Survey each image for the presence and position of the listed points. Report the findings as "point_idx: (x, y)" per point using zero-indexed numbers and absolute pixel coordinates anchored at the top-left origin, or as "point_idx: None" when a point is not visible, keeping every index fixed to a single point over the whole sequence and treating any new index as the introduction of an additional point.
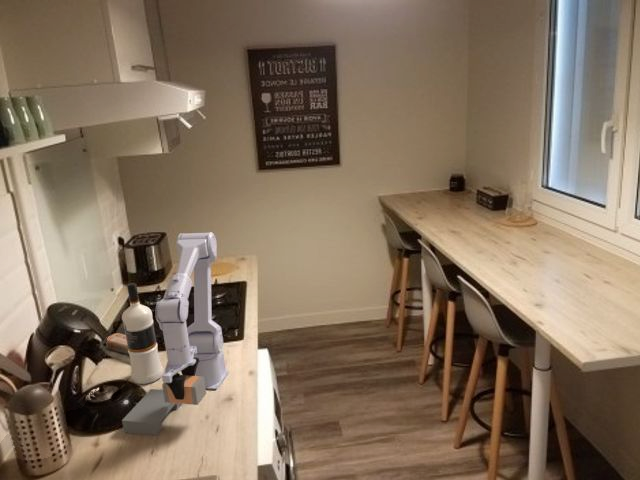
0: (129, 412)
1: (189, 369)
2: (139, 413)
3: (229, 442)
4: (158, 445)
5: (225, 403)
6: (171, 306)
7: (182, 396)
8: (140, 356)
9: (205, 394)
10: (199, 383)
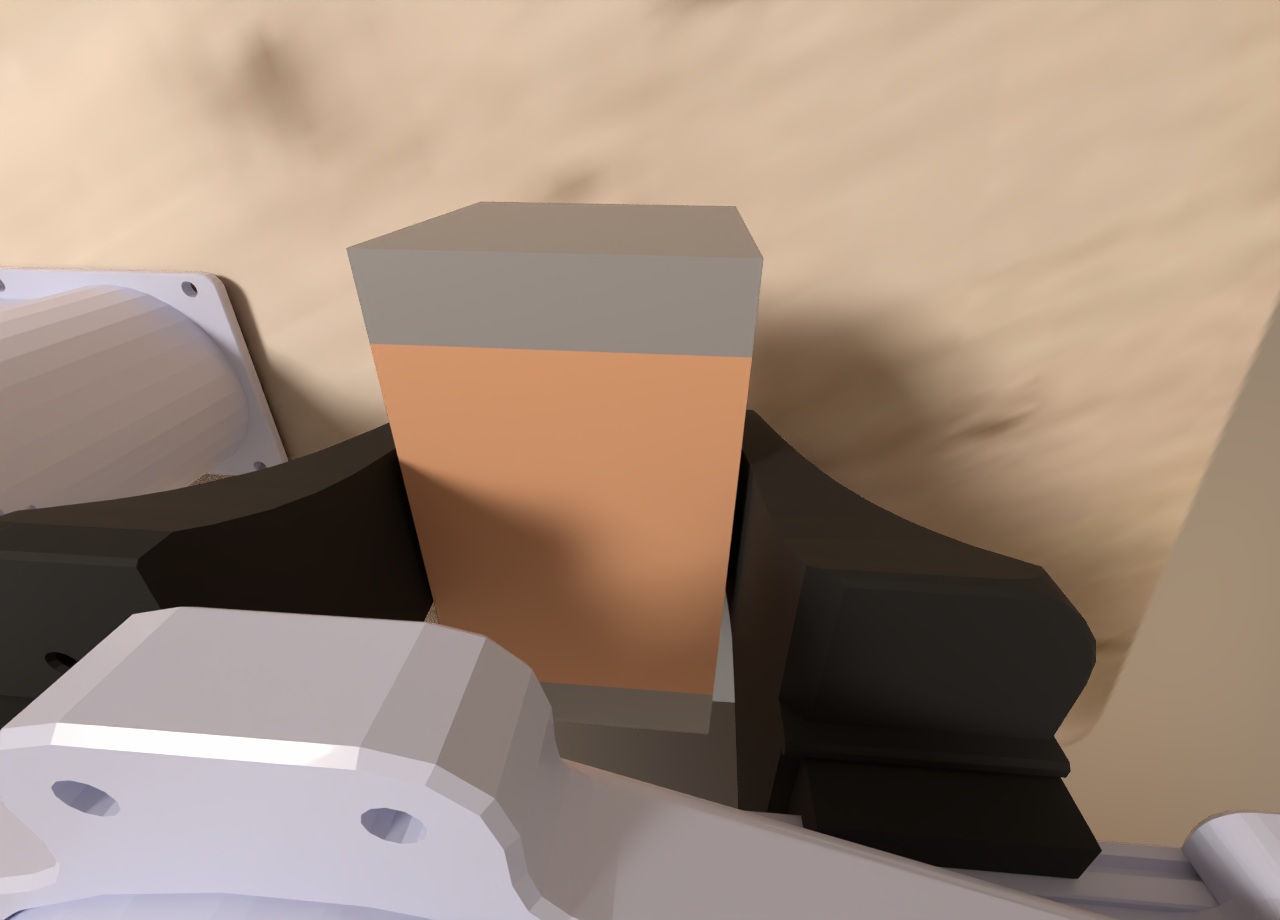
0: (717, 700)
1: (342, 580)
2: (723, 652)
3: None
4: (926, 419)
5: (349, 92)
6: None
7: (770, 427)
8: None
9: (502, 202)
10: (571, 246)
